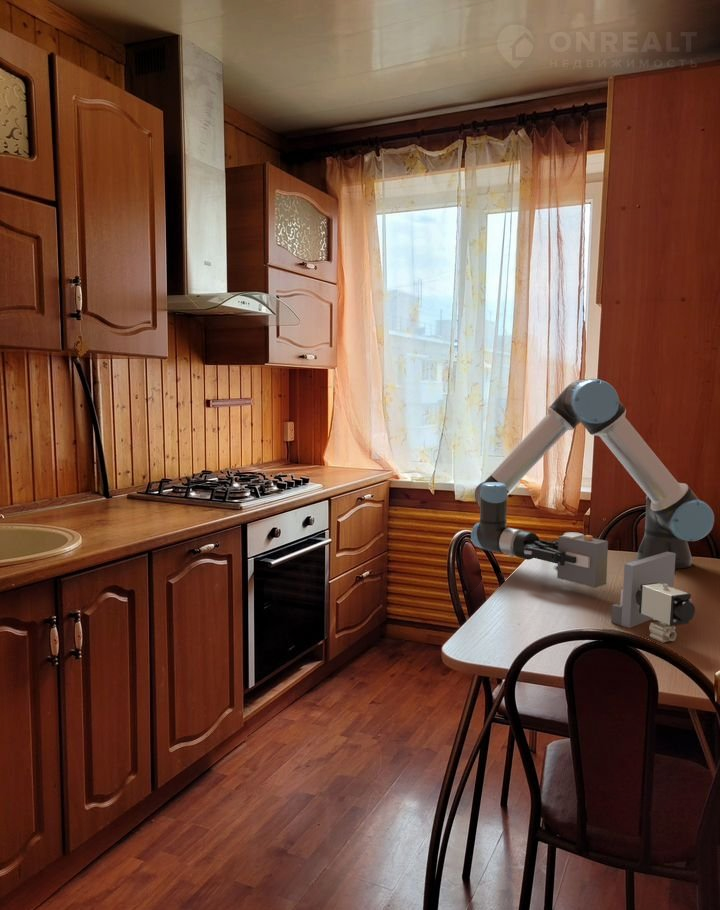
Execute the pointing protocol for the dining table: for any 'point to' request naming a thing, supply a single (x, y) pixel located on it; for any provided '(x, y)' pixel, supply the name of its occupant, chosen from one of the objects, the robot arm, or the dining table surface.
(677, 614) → the pneumatic valve
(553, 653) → the dining table surface
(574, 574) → the block
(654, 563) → the rail panel
